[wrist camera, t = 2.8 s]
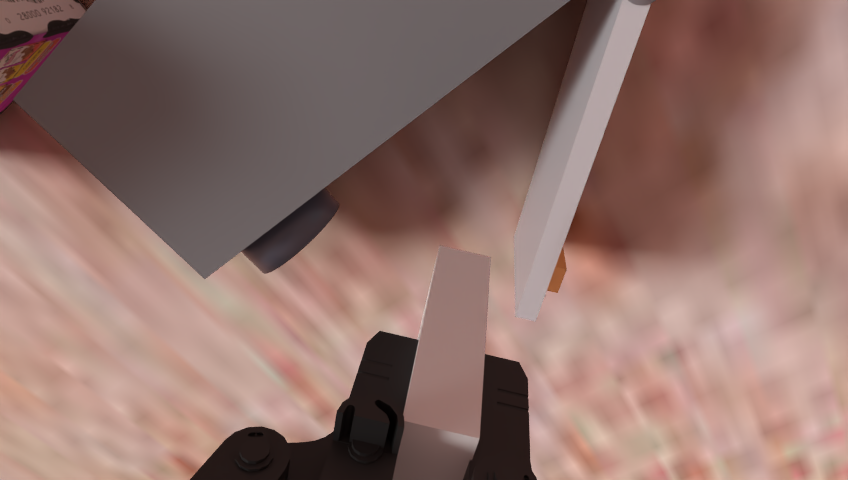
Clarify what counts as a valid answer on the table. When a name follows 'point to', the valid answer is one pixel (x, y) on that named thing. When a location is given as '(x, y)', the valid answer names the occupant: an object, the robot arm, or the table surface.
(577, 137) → the door
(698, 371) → the table surface
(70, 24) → the candy bar box
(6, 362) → the table surface
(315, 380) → the table surface
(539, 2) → the case
